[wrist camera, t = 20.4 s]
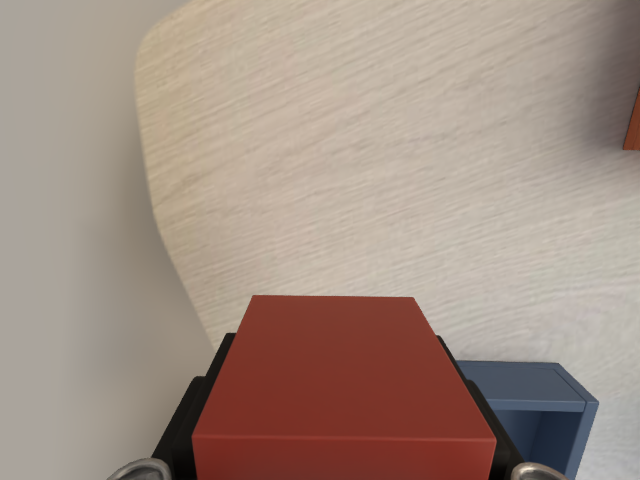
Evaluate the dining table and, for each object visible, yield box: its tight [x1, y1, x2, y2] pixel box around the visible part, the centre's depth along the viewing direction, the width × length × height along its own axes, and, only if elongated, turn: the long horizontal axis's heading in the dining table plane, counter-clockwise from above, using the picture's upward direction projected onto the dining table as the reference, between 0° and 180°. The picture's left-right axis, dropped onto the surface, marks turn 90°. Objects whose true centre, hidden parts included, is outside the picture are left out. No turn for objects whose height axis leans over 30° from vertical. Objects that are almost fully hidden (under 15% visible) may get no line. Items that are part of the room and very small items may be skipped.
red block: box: [192, 295, 497, 480], centre depth 8 cm, size 5×5×5 cm
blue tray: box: [456, 361, 599, 480], centre depth 23 cm, size 14×14×4 cm
